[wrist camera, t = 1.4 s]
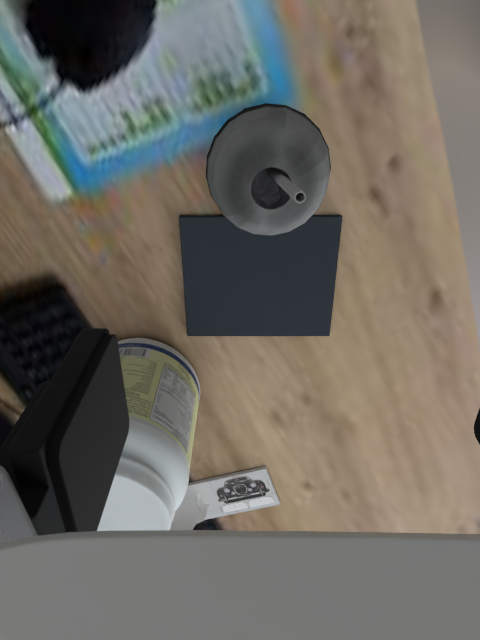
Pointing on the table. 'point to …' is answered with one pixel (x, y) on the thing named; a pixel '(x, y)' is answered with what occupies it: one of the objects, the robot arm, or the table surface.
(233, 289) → the mat
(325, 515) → the table surface
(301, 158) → the beverage cup
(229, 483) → the vintage car picture box
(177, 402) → the supplement tub
